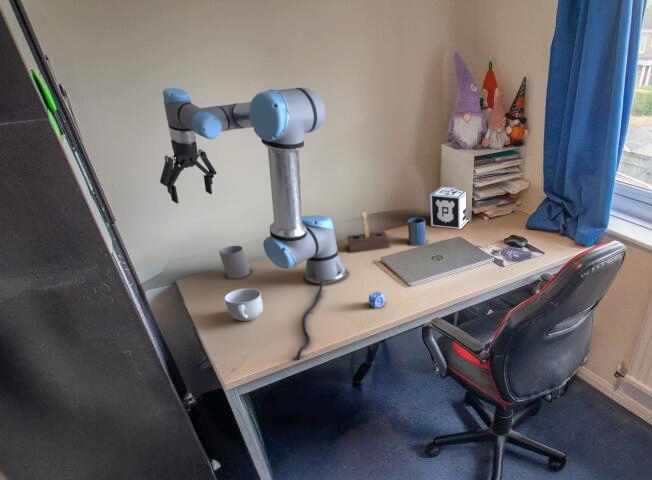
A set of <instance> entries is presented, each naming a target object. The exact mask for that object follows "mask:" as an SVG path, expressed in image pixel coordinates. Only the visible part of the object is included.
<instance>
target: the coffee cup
mask: <svg viewBox="0 0 652 480" xmlns="http://www.w3.org/2000/svg"><path fill="white" fill-rule="evenodd" d="M406 221H407V222H406V223H407V234H408V236H407V237H408V244H409V245H411V246H424V245H426V244H427V225H426V219H425V218H423V217H411V218H408V219H407V220H406Z"/></svg>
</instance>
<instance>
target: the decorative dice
mask: <svg viewBox="0 0 652 480" xmlns="http://www.w3.org/2000/svg"><path fill="white" fill-rule="evenodd" d="M368 302H369V304H370V306H371V307H372V308H375V309H376V308H377V309H378V308H381V307H383V306H384V305H385V302H386V299H385V296H384V294H383V292H381V291H373V292H371V293H370V294H369V296H368Z"/></svg>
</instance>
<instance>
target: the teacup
mask: <svg viewBox="0 0 652 480" xmlns="http://www.w3.org/2000/svg"><path fill="white" fill-rule="evenodd" d="M223 299H224V302H225V304H226V308H227V311H228V314H229V315H230V316H231V317H232V318H233V319H235V320H238V321H241V322H248V321H249V322H250V321H253V320H255V319H256V318H258V317H259V316H260V315H262V312H263V310H264V305H263V299H262V293H261V291H260V290H259V289H256V288H239V289H235V290H232V291H230V292H228V293H226V294H225V295H224V297H223Z"/></svg>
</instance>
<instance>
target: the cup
mask: <svg viewBox="0 0 652 480" xmlns="http://www.w3.org/2000/svg"><path fill="white" fill-rule="evenodd" d="M218 254H219V256H220V260H221V262H222V265H223V268H224V272H225V274H226V277H227V278H228V279H242V278H244V277H247V276H248V275H249V274H250V273H251V270H250V267H249V264H248V260H247V258H246V254H245V251H244V249H243V247H242V246H241V245H230V246H226V247H223V248H221V249H220V250H219V251H218Z"/></svg>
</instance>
